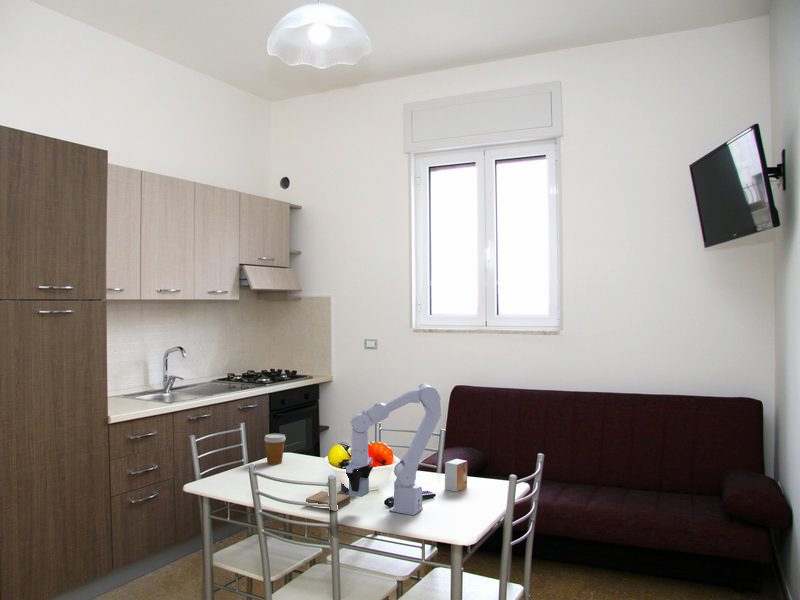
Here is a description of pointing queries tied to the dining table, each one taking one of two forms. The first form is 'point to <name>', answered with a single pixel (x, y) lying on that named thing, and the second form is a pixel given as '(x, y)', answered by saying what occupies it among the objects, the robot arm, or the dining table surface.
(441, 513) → the dining table surface
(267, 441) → the disposable coffee cup
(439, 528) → the dining table surface
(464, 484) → the small box
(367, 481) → the slate cube
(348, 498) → the walnut base
